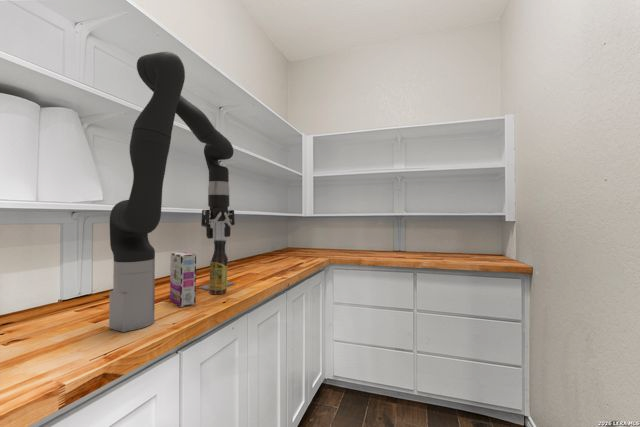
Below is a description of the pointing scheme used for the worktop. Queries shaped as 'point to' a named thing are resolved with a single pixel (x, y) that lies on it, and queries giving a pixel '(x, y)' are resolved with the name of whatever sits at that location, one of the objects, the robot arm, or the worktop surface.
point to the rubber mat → (209, 284)
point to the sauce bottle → (218, 269)
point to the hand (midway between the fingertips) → (219, 237)
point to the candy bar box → (183, 279)
